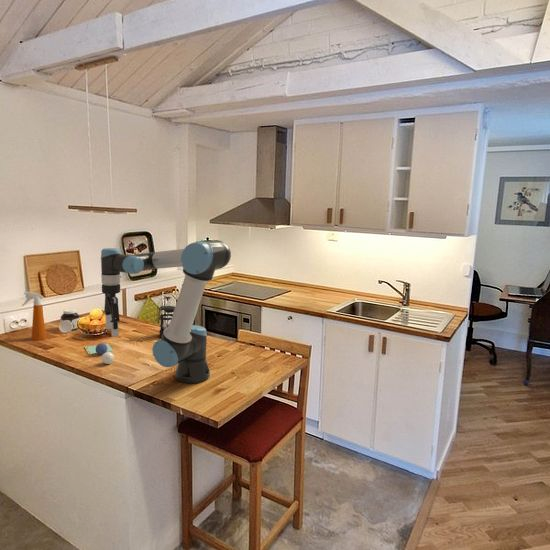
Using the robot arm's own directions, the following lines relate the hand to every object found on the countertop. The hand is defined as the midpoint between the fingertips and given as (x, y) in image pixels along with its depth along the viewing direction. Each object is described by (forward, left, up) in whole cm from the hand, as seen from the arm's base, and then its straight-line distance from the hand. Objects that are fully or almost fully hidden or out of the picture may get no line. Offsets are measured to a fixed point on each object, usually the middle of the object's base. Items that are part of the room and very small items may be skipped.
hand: (112, 332), depth 183 cm
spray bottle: (+62, +26, -18) cm, 70 cm away
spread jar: (+71, +8, -18) cm, 74 cm away
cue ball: (+9, 0, -15) cm, 18 cm away
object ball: (+23, 0, -15) cm, 28 cm away
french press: (+37, -39, -18) cm, 57 cm away
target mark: (+31, 0, -18) cm, 36 cm away
